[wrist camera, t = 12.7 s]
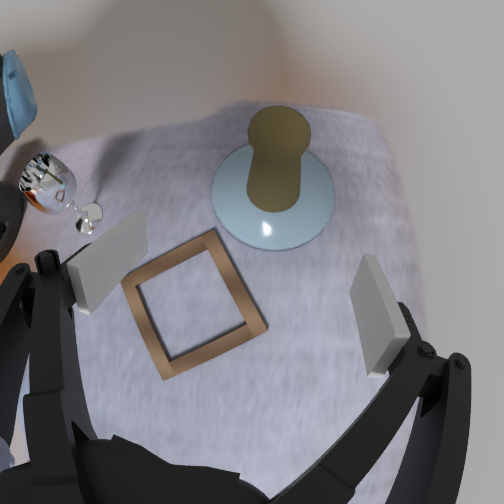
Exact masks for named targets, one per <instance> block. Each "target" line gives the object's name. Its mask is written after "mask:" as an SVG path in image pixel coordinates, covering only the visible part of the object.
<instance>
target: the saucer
mask: <svg viewBox="0 0 504 504" xmlns="http://www.w3.org/2000/svg"><path fill="white" fill-rule="evenodd" d="M253 151H254V150H253V148H252V147H251V145H250V144H249V145H246V146H244V147H242V148H240V149H238V150H236V151H235V152H233V153H232V154H230V155H229V156H228V157H227V158H226V159H225V160H224V161H223V162H222V163H221V165H220V166H219V168H218V169H217V171H216V173H215V176H214V179H213V182H212V190H211V196H212V202H213V206H214V210H215V213H216V215H217V217H218V220H219V221H220V223H221V224H222V226H223V227H224V228H225V230H226V231H227V232H228V233H229V234H230V235H232V236H233V237H234V238H235V239H237V240H238V241H240V242H241V243H243V244H245V245H247V246H250V247H253V248H256V249H260V250H264V251H285V250H291V249H294V248H298V247H300V246H302V245H304V244H306V243H308V242H310V241H311V240H313V239H314V238H315V237H316V236H317V235H318V234H319V233H320V232H321V231H322V230H323V229H324V227H325V225H326V224H327V222H328V221H329V219H330V217H331V214H332V212H333V208H334V204H335V190H334V185H333V182H332V179H331V177H330V175H329V173H328V171H327V169H326V168H325V166H324V165H323V164H322V163H321V162H320V161H319V160H318V159H317V158H316V157H315V156H314V155H312V154H311V153H309V152H308V151H305V152H304V153H303V155H302V156H301V186H300V196H299V199H298V200H297V202H296V204H295V205H294V206H292V207H291V208H290V209H288V210H286V211H283V212H278V213H271V212H266V211H263V210H261V209H259V208H257V207H256V206H255V205H254V204H253V203H252V202H251V201H250V199H249V197H248V195H247V189H246V186H247V181H248V176H249V171H250V166H251V161H252V156H253Z"/></svg>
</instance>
